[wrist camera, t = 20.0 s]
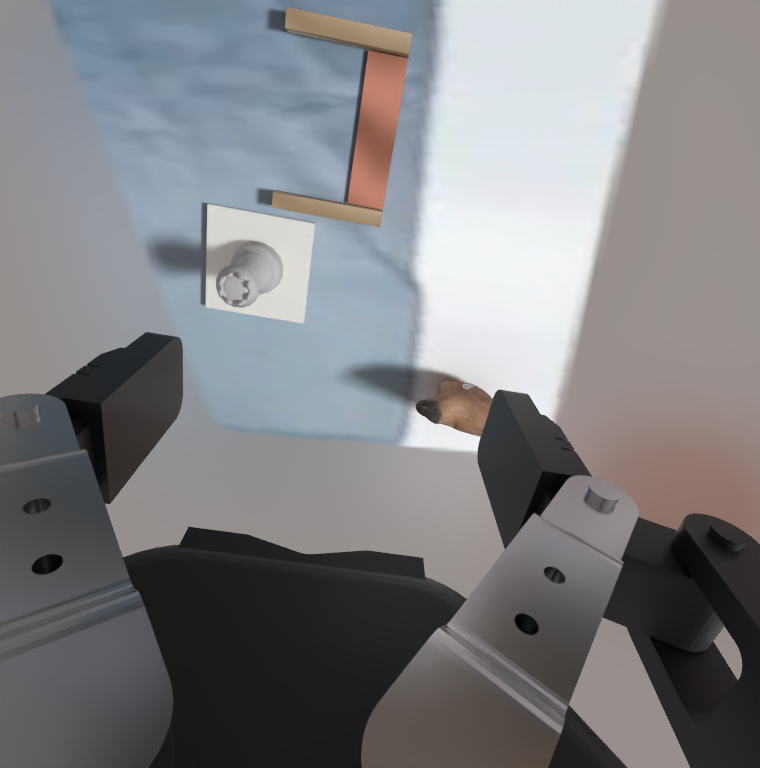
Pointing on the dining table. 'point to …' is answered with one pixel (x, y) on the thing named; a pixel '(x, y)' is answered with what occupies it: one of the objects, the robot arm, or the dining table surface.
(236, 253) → the rook chess piece
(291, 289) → the tile
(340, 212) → the wooden u-shaped frame
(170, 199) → the dining table surface
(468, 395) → the oil lamp
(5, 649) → the robot arm
